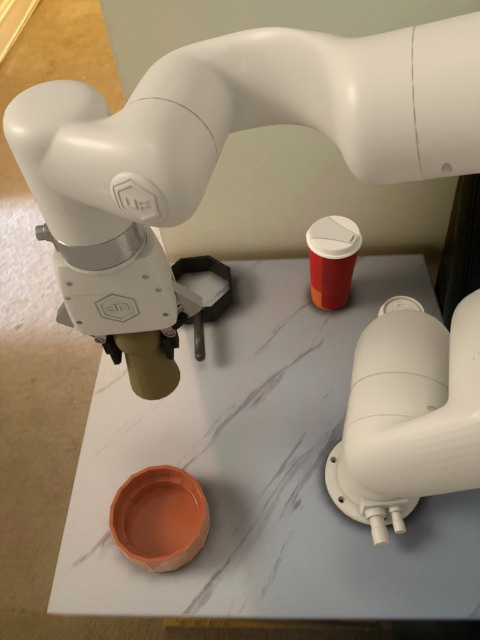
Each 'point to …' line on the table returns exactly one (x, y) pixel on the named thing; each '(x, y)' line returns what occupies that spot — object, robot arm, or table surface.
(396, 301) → the beer can
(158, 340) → the olive rounded piece
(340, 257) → the coffee cup
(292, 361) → the table surface
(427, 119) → the robot arm
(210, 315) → the pan
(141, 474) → the bowl
